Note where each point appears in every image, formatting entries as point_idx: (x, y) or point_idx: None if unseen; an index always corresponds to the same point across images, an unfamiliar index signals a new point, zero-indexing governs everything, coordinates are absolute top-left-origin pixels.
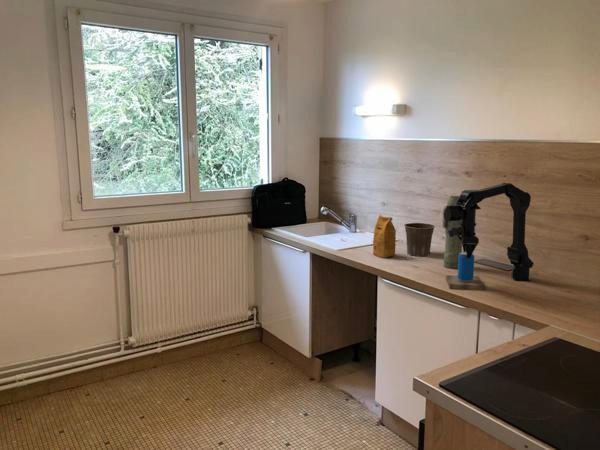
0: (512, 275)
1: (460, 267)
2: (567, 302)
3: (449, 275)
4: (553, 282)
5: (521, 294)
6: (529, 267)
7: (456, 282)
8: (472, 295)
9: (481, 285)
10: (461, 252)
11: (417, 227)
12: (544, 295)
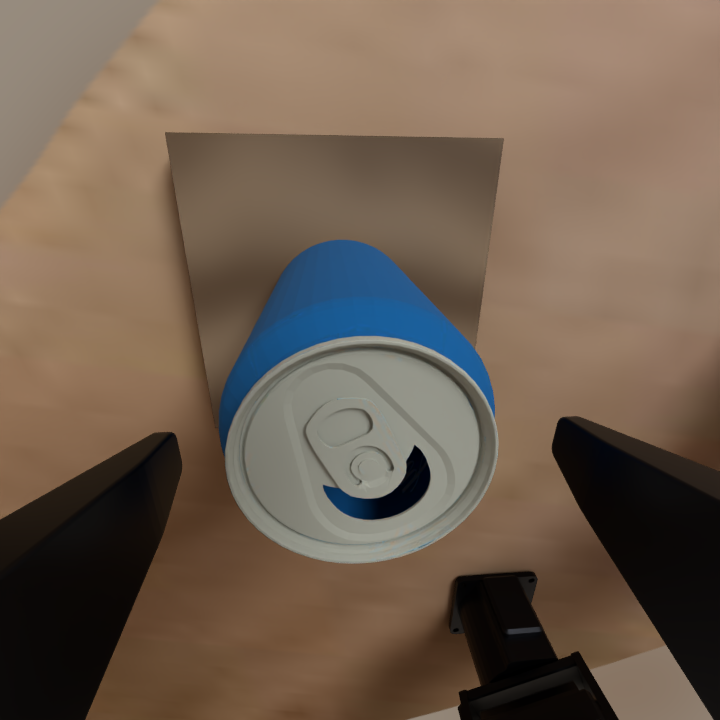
0: (495, 589)
1: (285, 282)
2: (123, 697)
3: (496, 176)
4: (434, 690)
5: (191, 573)
6: (461, 718)
7: (248, 214)
8: (47, 312)
9: (212, 407)
10: (464, 381)
11: None
12: (207, 646)
